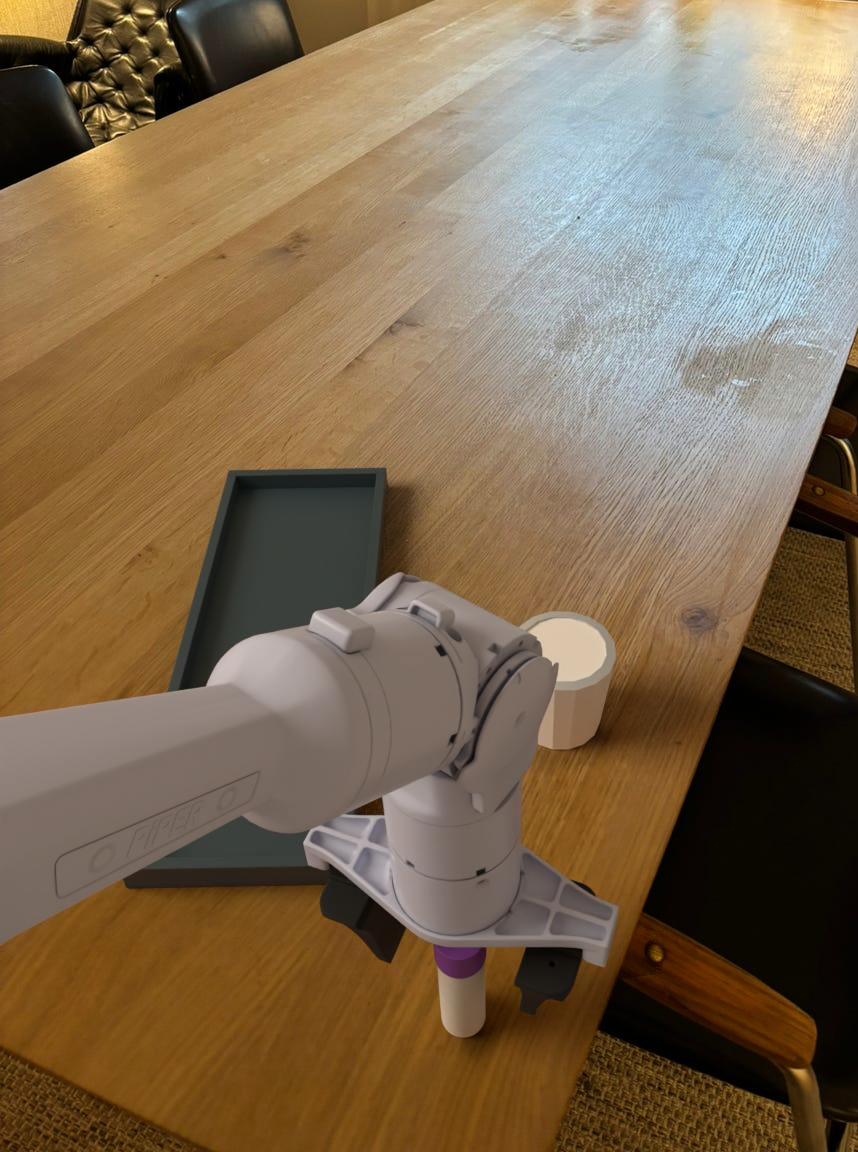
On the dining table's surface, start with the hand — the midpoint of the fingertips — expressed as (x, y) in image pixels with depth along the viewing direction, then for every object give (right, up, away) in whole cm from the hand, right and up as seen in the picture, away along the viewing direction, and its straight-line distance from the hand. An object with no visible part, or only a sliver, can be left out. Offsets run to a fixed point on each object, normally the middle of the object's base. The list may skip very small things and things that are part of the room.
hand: (461, 968), depth 52 cm
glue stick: (0, -4, +3) cm, 5 cm away
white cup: (+6, +9, +19) cm, 22 cm away
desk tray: (-14, +13, +23) cm, 30 cm away
